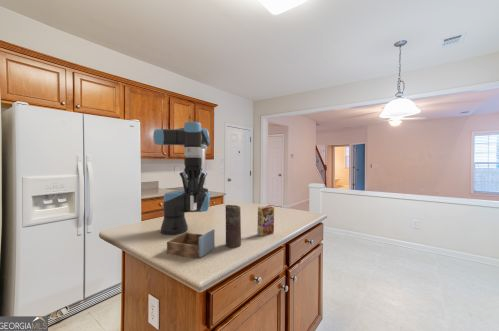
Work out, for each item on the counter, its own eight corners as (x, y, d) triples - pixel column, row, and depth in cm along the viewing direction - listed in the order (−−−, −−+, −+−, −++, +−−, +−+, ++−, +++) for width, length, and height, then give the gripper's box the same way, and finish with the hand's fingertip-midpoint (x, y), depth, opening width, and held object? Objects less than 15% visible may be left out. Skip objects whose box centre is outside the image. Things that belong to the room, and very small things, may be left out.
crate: (167, 255, 100) (166, 242, 100) (186, 244, 113) (186, 232, 113) (196, 260, 95) (196, 246, 95) (213, 248, 108) (213, 235, 108)
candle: (225, 244, 113) (225, 203, 113) (240, 243, 114) (240, 203, 113) (225, 250, 106) (225, 207, 105) (241, 249, 106) (241, 206, 106)
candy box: (261, 236, 125) (261, 208, 124) (257, 234, 129) (257, 207, 128) (274, 233, 130) (274, 206, 129) (269, 231, 133) (269, 205, 133)
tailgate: (198, 259, 96) (198, 237, 96) (212, 248, 107) (212, 229, 107) (200, 259, 95) (200, 238, 95) (215, 248, 107) (214, 229, 106)
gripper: (175, 157, 101) (176, 210, 102) (201, 156, 97) (201, 212, 97) (185, 157, 108) (186, 207, 109) (210, 157, 104) (210, 209, 104)
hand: (193, 209), depth 103 cm, fingers closed
